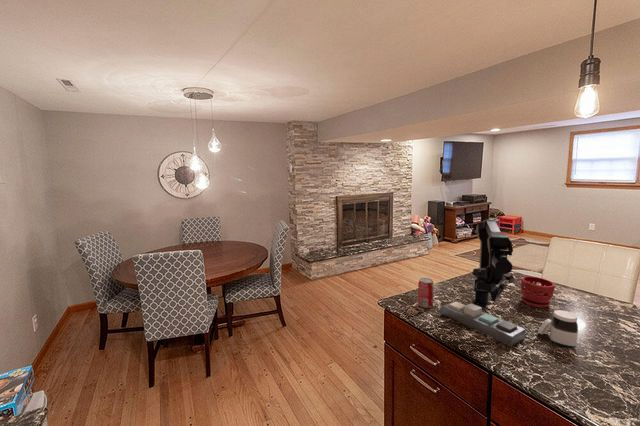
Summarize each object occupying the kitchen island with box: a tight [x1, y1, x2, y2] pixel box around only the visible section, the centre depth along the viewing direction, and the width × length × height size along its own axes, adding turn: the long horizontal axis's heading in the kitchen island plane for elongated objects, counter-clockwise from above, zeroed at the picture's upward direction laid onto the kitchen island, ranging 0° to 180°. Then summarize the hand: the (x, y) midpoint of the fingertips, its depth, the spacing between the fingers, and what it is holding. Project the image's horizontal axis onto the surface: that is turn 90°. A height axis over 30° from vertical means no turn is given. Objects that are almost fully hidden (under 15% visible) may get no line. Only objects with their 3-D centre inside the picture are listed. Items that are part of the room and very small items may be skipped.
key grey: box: [464, 302, 483, 318], centre depth 128 cm, size 5×5×4 cm
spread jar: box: [537, 309, 579, 349], centre depth 114 cm, size 12×11×12 cm
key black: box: [497, 320, 518, 333], centre depth 117 cm, size 5×5×4 cm
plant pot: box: [520, 276, 556, 309], centre depth 145 cm, size 13×13×12 cm
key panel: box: [441, 300, 526, 348], centre depth 126 cm, size 10×30×4 cm, turn 32°
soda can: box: [417, 277, 435, 309], centre depth 144 cm, size 7×7×13 cm
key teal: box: [479, 313, 499, 325], centre depth 123 cm, size 5×5×4 cm
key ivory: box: [449, 301, 467, 311], centre depth 135 cm, size 5×5×4 cm
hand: (493, 300), depth 124 cm, fingers closed
